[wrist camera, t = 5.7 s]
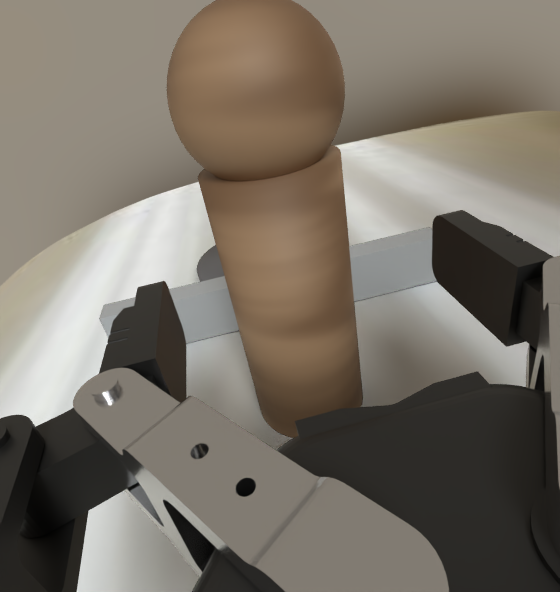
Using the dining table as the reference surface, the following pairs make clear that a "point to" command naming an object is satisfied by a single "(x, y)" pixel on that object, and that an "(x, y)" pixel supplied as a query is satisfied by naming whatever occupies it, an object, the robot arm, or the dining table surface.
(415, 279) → the low wall
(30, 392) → the dining table surface
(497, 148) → the dining table surface
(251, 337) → the skittle
